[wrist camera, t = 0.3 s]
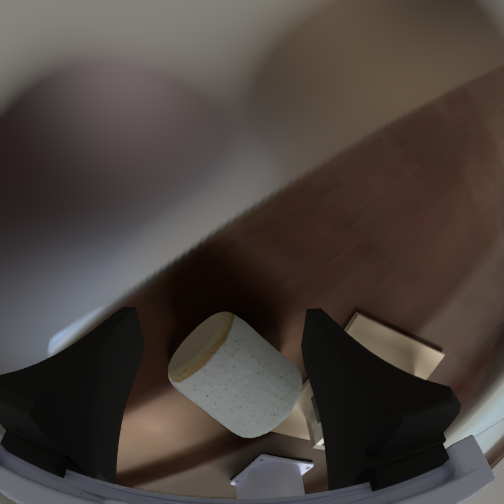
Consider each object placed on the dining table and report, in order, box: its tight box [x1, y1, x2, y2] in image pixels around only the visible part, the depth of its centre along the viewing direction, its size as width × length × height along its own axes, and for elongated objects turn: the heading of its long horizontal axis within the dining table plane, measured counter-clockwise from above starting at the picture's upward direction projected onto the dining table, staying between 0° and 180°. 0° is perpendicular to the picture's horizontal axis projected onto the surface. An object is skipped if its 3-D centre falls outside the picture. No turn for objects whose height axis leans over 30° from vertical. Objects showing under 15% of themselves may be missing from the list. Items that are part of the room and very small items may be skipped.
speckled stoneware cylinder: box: [168, 312, 302, 438], centre depth 20 cm, size 11×8×8 cm
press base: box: [271, 312, 444, 450], centre depth 23 cm, size 16×14×5 cm
